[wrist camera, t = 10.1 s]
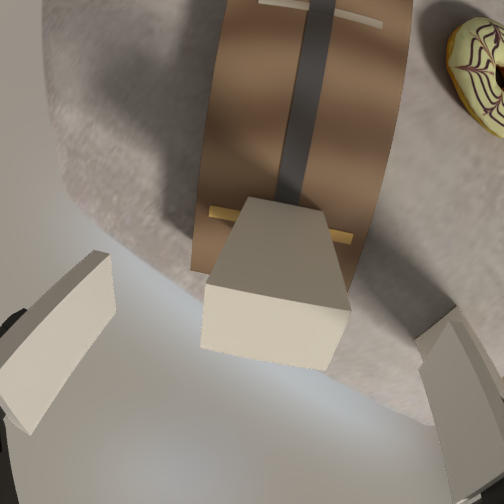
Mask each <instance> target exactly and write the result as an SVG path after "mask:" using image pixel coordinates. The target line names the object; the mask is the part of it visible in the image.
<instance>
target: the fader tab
mask: <svg viewBox="0 0 504 504" xmlns="http://www.w3.org/2000/svg"><path fill="white" fill-rule="evenodd" d="M351 312H352V310H351V306H350V302H349V298H348V295H347V291H346V287H345V283H344V280H343V276H342V273H341V269H340V266H339V262H338V259H337V255H336V252H335V248H334V245H333V242H332V238H331V235H330V232H329V229H328V225H327V222H326V219H325V216H324V213H323V211H318V210H314V209H309V208H304V207H299V206H295V205H290V204H285V203H280V202H275V201H269V200H264V199H259V198H254V197H248V198H247V200H246V202H245V204H244V206H243V208H242V210H241V212H240V214H239V216H238V218H237V220H236V222H235V224H234V226H233V228H232V230H231V232H230V234H229V236H228V238H227V240H226V243H225V245H224V247H223V249H222V251H221V253H220V255H219V257H218V259H217V261H216V263H215V265H214V267H213V269H212V271H211V273H210V276H209V278H208V280H207V282H206V285H205V296H204V307H203V319H202V331H201V345H200V348H204V349H208V350H212V351H217V352H221V353H226V354H231V355H235V356H240V357H245V358H251V359H256V360H261V361H267V362H272V363H278V364H285V365H291V366H297V367H303V368H310V369H317V370H325V371H326V369H327V367H328V365H329V363H330V361H331V358H332V356H333V354H334V352H335V350H336V347H337V345H338V343H339V341H340V338H341V336H342V334H343V331H344V329H345V327H346V324H347V322H348V320H349V317H350V315H351Z"/></svg>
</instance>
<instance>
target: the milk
mask: <svg viewBox="0 0 504 504" xmlns="http://www.w3.org/2000/svg"><path fill="white" fill-rule="evenodd" d="M448 321H454V322H461V323H463V325H464V326H465V328H466V330H467V331H468V333H469V335H470V337H471V339H472V340H473V342H474V344H475V346H476V348H477V349H478V351H479V353H480V355H481V357H482V359H483V361H484V363H485V365H486V367H487V369H488V371H489V373H490V375H491V377H492V379H493V381H494V383H495V385H496V387H497V389H498V392H499V394H500V396H501V397H502V398H503V399H504V383H503V381H502V379H501V377H500V375H499V373H498V372H497V370H496V368H495V366H494V364H493V363H492V361H491V359H490V357H489V356H488V354H487V352H486V350H485V349H484V347H483V345H482V344H481V342H480V340H479V339H478V337H477V336H476V334H475V332H474V331H473V329H472V328H471V326H470V325H469V323H468V321H467V320H466V318H465V317H464V315H463V314H462V312H461V311H460V309H459V308H458V307H457V306H456V307H455V308H454V309H452V310H451V311H450V312H449V313H448V314H447V315H445V316H444V317H443V318H442V319H441V320H439V321H438V322H437V323H436V324H434V325H433V326H432V327H431V328H429V329H428V330H427V331H425V332H424V333H423V334H422V335H420V336H419V337H418V338H416V339H415V342H416V344H417V347H418V349H419V352H420V354H421V357H422V359H423V361H425V359H426V357H427V356H428V354H429V353H430V351H431V350H432V348H433V347H434V345H435V343H436V342H437V340H438V338H439V337H440V335H441V333H442V332H443V330H444V328H445V327H446V325H447V323H448ZM480 498H481V493H480V494H478V495H477V496H475V497H474V498H472V499H470V500H469V503H470V504H472V503H473V502H475V501H477V500H478V499H480Z"/></svg>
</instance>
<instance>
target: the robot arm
mask: <svg viewBox="0 0 504 504" xmlns="http://www.w3.org/2000/svg"><path fill="white" fill-rule="evenodd" d="M115 313H116V306H115V298H114V288H113V279H112V268H111V256H110V254H108V253H104V252H100V251H96V250H93V251H92V252H91V253H90V254H89V255H88V256H86V257H85V258H84V259H83V260H82V261H81V262H79V263H78V264H77V265H76V266H75V267H74V268H73V269H71V270H70V271H69V272H68V273H67V274H66V275H65V276H63V277H62V278H61V279H60V280H59V281H58V282H57V283H56V284H55V285H54V286H53V287H51V289H49V290H48V291H47V292H46V293H45V294H44V295H43V296H42V297H41V298H40V299H39V300H38V301H37V302H36V303H35V304H34V305H33V306H31V307H30V308H29V309H28V310H26V309H24V308H23V309H22V310H20V311H18V312H16V313H14V314H12V315H11V316H10V317H9V318H8V319H7V320H6V321H5V322H4V323H3V324H2V326H1V327H0V504H19V502H18V497H17V493H16V490H15V485H14V480H13V475H12V470H11V465H10V458H9V452H8V445H7V437H6V427H5V424H4V421H3V418H4V417H5V415H7V417H8V418H9V419H10V420H11V422H12V423H13V424H14V425H15V426H17V427H18V428H20V429H21V430H22V431H24V432H26V433H27V434H29V435H30V436H31V434H32V433H33V431H34V429H35V428H36V426H37V425H38V423H39V421H40V420H41V418H42V417H43V415H44V414H45V412H46V410H47V409H48V407H49V406H50V404H51V403H52V401H53V400H54V398H55V397H56V395H57V394H58V392H59V391H60V389H61V388H62V386H63V385H64V383H65V382H66V380H67V379H68V377H69V376H70V375H71V373H72V372H73V370H74V369H75V368H76V366H77V364H78V363H79V362H80V360H81V359H82V358H83V356H84V355H85V353H86V352H87V351H88V349H89V348H90V347H91V345H92V344H93V342H94V341H95V340H96V338H97V337H98V336H99V334H100V333H101V332H102V330H103V329H104V328H105V326H106V324H108V322H109V321H110V320H111V318H112V317H113V316H114V314H115ZM419 372H420V375H421V378H422V381H423V384H424V388H425V391H426V394H427V397H428V401H429V404H430V407H431V411H432V414H433V418H434V421H435V425H436V429H437V432H438V436H439V441H440V445H441V449H442V453H443V457H444V462H445V466H446V471H447V476H448V481H449V486H450V492H451V498H452V504H459V503H462V502H466V501H469V500H470V499H472V498H474V497H475V496H477V495H478V494H480V493H481V498H480V499H478V500H477V501H475V502H473V503H472V504H504V399H503V398H502V397H501V396H500V394H499V392H498V389H497V387H496V385H495V383H494V381H493V379H492V377H491V375H490V373H489V371H488V369H487V367H486V365H485V363H484V361H483V359H482V357H481V355H480V353H479V351H478V349H477V348H476V346H475V344H474V342H473V340H472V339H471V337H470V335H469V333H468V331H467V330H466V328H465V326H464V325H463V323H461V322H454V321H448V323H447V325H446V327H445V328H444V330H443V332H442V333H441V335H440V337H439V338H438V340H437V342H436V343H435V345H434V347H433V348H432V350H431V351H430V353H429V354H428V356H427V357H426V359H425V361H424V362H423V364H422V365H421V366H420V368H419Z"/></svg>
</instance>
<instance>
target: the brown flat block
mask: <svg viewBox="0 0 504 504" xmlns="http://www.w3.org/2000/svg"><path fill="white" fill-rule="evenodd" d="M412 10H413V0H228V1H227V5H226V10H225V15H224V20H223V25H222V30H221V35H220V40H219V45H218V51H217V56H216V62H215V68H214V74H213V80H212V86H211V92H210V98H209V105H208V112H207V119H206V126H205V133H204V140H203V148H202V156H201V164H200V173H199V181H198V191H197V200H196V210H195V221H194V232H193V244H192V256H191V271H196V272H201V273H205V274H210V273H211V271H212V269H213V267H214V265H215V263H216V261H217V259H218V257H219V255H220V253H221V251H222V249H223V247H224V245H225V243H226V240H227V238H228V236H229V234H230V232H231V230H232V228H233V226H234V224H235V222H236V220H237V218H238V216H239V214H240V212H241V210H242V208H243V206H244V204H245V202H246V200H247V198H248V197H254V198H259V199H264V200H269V201H275V202H280V203H285V204H290V205H295V206H299V207H304V208H309V209H314V210H318V211H323V213H324V216H325V219H326V222H327V225H328V229H329V232H330V235H331V238H332V242H333V245H334V248H335V252H336V255H337V259H338V262H339V266H340V269H341V273H342V276H343V280H344V283H345V287H346V291H347V292H348V290H349V287H350V284H351V281H352V279H353V276H354V273H355V270H356V267H357V264H358V261H359V258H360V255H361V252H362V249H363V246H364V243H365V240H366V237H367V233H368V230H369V227H370V224H371V220H372V217H373V214H374V210H375V207H376V203H377V200H378V196H379V192H380V189H381V185H382V181H383V177H384V173H385V169H386V165H387V161H388V157H389V153H390V149H391V144H392V140H393V135H394V131H395V126H396V121H397V116H398V111H399V106H400V101H401V95H402V89H403V83H404V77H405V71H406V64H407V57H408V49H409V41H410V32H411V22H412Z"/></svg>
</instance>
